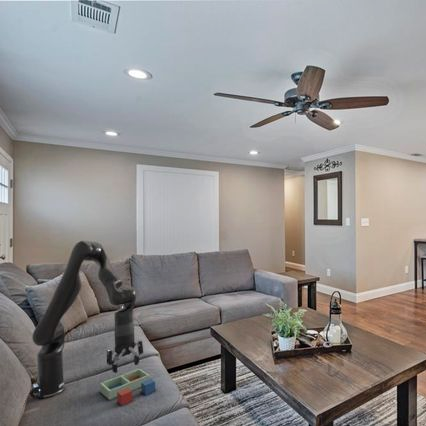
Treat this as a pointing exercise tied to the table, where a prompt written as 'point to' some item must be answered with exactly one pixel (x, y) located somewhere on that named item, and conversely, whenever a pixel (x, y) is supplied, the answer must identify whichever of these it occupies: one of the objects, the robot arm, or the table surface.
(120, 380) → the sorting tray
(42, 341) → the robot arm
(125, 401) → the red block
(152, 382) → the blue block
